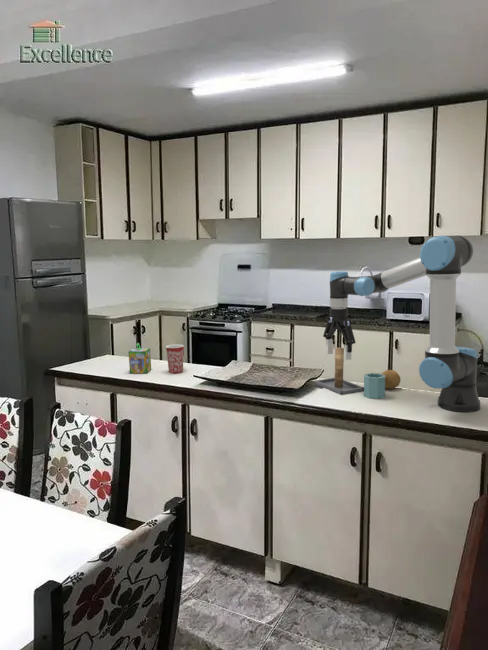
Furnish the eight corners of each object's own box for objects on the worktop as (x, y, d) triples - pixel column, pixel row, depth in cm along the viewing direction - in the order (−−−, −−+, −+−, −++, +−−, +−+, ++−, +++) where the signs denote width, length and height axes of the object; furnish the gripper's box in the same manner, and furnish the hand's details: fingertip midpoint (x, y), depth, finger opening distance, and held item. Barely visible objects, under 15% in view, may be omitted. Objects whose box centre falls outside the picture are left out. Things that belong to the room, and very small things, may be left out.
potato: (402, 385, 232) (402, 368, 231) (398, 394, 219) (398, 375, 218) (379, 383, 236) (380, 366, 235) (374, 392, 223) (374, 373, 222)
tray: (364, 393, 222) (364, 387, 222) (340, 397, 217) (340, 391, 217) (336, 382, 240) (336, 377, 240) (314, 385, 235) (314, 380, 235)
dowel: (344, 387, 228) (345, 348, 224) (337, 388, 226) (338, 349, 223) (339, 384, 231) (340, 347, 228) (332, 386, 229) (333, 348, 226)
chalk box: (146, 373, 266) (145, 345, 263) (129, 373, 267) (127, 345, 264) (152, 369, 275) (150, 341, 272) (135, 369, 276) (133, 341, 274)
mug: (179, 374, 262) (177, 348, 260) (163, 373, 266) (162, 347, 264) (191, 368, 273) (190, 343, 271) (176, 367, 277) (175, 342, 275)
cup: (389, 399, 213) (389, 376, 211) (372, 402, 209) (373, 379, 208) (376, 394, 220) (376, 372, 218) (360, 397, 217) (360, 374, 215)
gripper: (364, 310, 214) (363, 361, 217) (329, 304, 236) (329, 350, 239) (349, 311, 210) (348, 363, 214) (315, 305, 233) (315, 352, 236)
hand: (338, 356), depth 226 cm, fingers open, 13 cm apart
